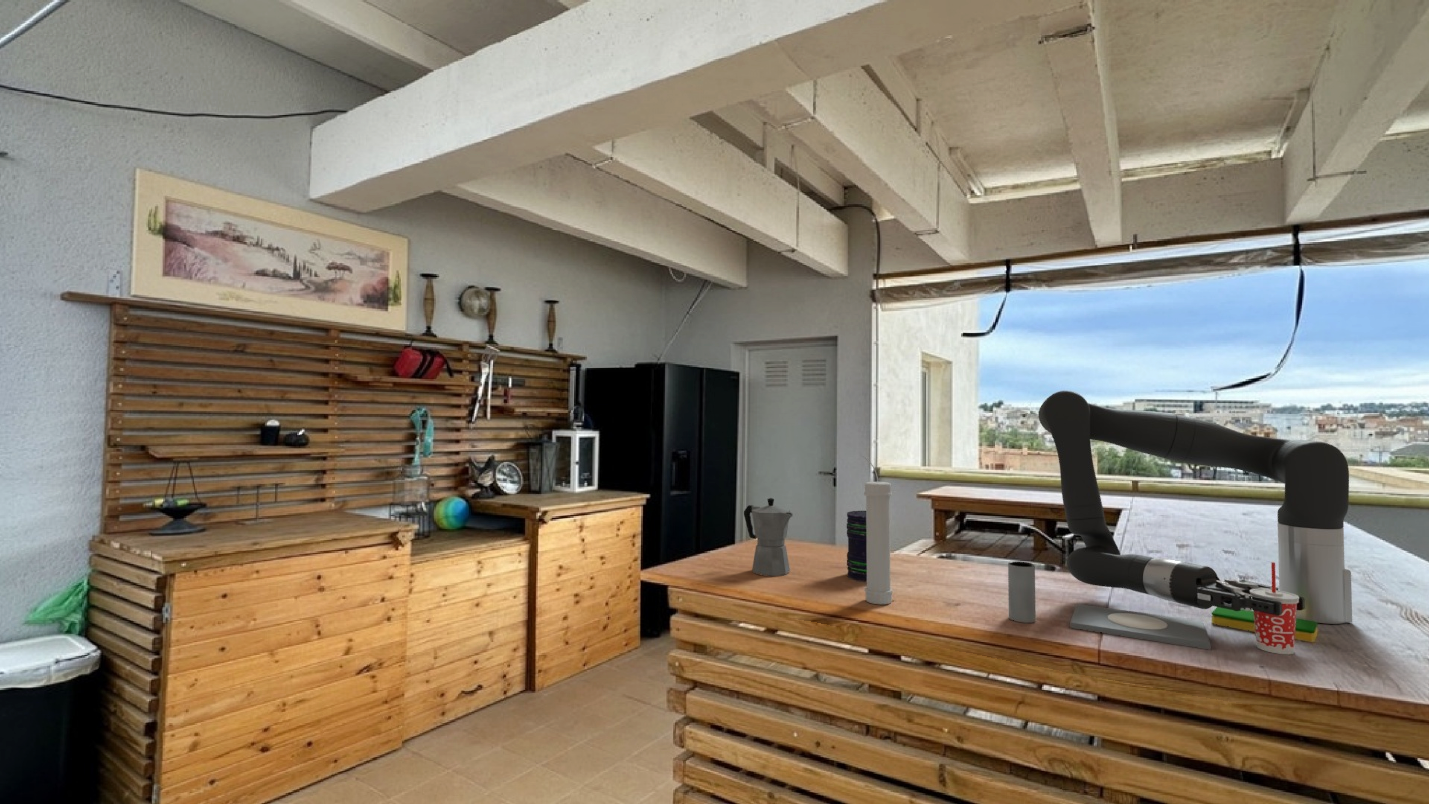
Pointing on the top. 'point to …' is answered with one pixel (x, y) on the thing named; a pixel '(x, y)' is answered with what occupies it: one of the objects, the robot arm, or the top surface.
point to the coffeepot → (769, 538)
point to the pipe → (878, 541)
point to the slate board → (1141, 626)
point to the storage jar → (857, 545)
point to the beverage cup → (1276, 620)
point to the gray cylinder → (1021, 591)
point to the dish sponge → (1246, 622)
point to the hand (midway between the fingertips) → (1292, 606)
